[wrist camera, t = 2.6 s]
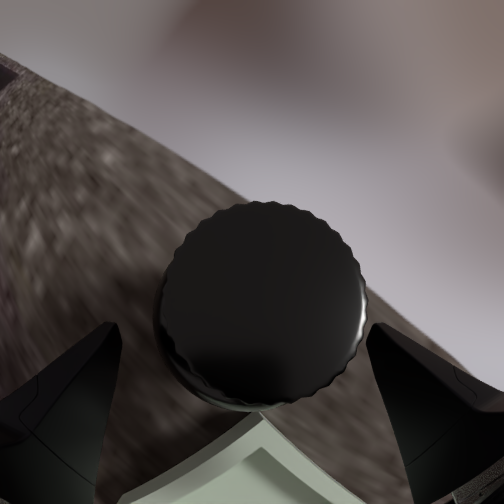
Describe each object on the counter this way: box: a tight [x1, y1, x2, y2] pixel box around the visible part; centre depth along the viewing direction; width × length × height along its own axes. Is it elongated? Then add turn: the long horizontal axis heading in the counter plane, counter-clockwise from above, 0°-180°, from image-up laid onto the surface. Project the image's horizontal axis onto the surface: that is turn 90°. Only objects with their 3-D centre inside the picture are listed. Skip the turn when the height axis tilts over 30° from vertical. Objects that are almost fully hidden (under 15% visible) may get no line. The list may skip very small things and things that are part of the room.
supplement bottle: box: [153, 201, 368, 412], centre depth 11 cm, size 7×7×12 cm
